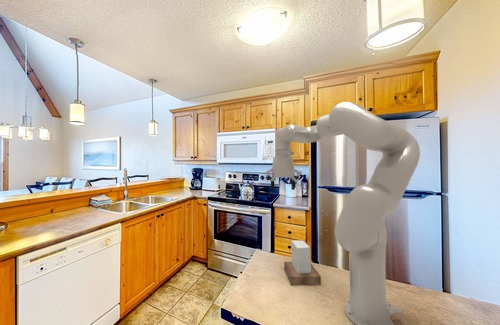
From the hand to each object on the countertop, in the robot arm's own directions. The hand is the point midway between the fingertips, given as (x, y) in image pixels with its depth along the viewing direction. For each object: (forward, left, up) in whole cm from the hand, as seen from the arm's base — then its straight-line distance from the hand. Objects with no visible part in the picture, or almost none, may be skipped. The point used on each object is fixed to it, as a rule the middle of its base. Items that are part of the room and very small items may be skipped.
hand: (283, 189), depth 87 cm
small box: (-6, +8, -33) cm, 35 cm away
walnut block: (-6, +8, -37) cm, 38 cm away
